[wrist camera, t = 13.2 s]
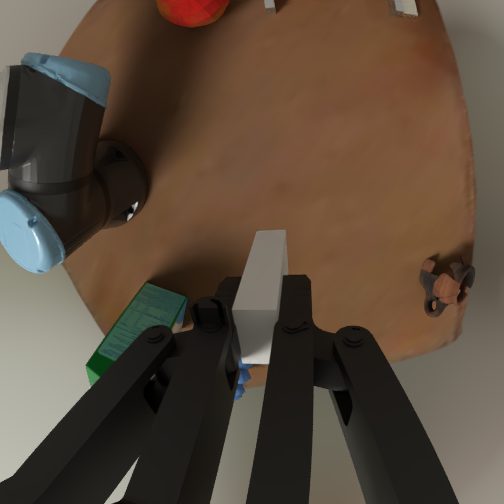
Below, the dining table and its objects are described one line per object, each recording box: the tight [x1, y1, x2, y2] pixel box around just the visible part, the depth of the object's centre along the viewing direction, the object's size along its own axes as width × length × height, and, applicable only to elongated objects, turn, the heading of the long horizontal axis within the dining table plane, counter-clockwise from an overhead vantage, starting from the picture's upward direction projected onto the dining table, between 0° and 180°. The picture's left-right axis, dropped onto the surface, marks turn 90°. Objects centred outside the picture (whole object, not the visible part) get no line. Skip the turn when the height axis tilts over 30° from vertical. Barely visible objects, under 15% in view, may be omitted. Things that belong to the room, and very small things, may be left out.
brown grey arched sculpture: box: [420, 256, 475, 318], centre depth 43 cm, size 12×9×8 cm
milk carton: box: [86, 282, 188, 389], centre depth 46 cm, size 9×9×25 cm
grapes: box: [234, 356, 253, 401], centre depth 55 cm, size 12×7×12 cm, turn 166°
